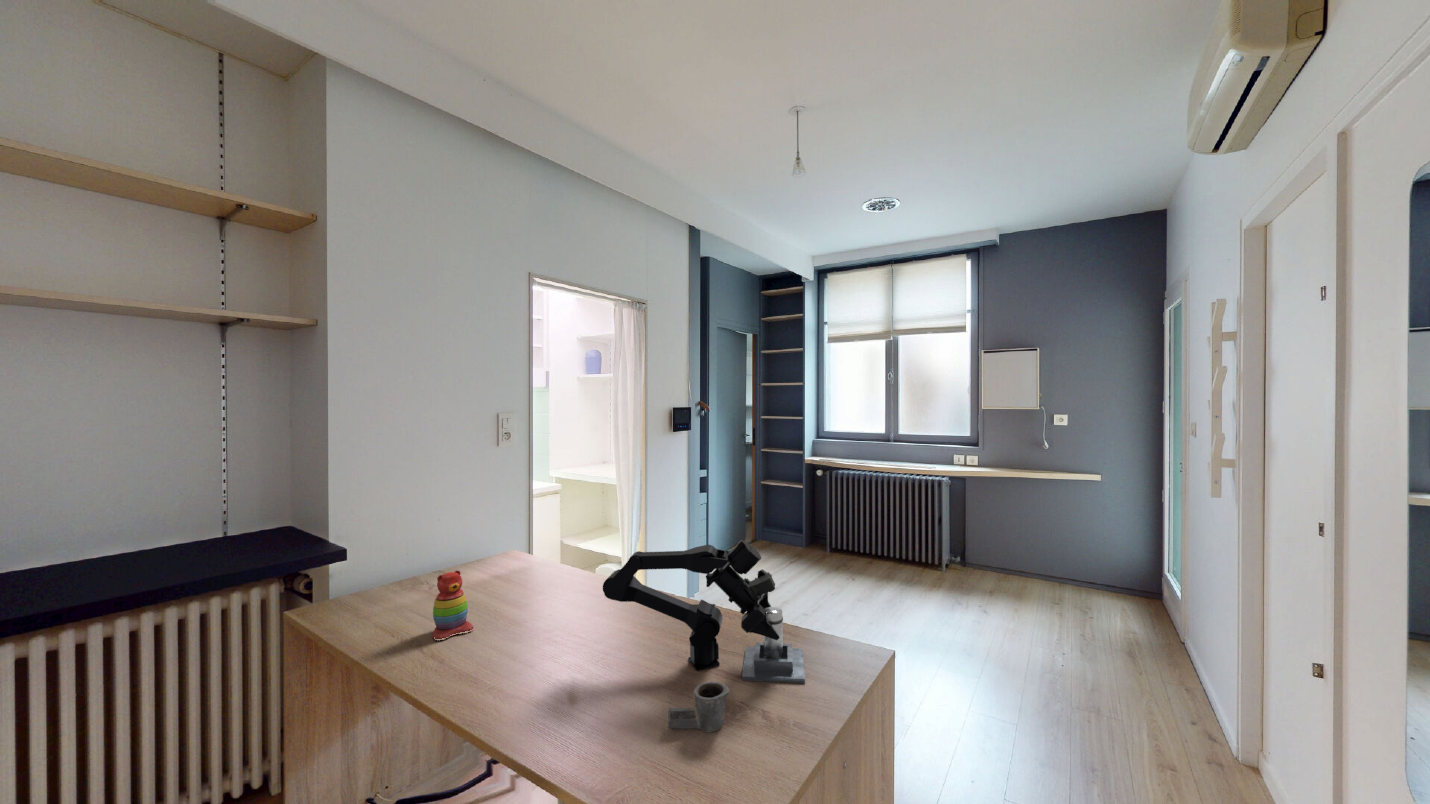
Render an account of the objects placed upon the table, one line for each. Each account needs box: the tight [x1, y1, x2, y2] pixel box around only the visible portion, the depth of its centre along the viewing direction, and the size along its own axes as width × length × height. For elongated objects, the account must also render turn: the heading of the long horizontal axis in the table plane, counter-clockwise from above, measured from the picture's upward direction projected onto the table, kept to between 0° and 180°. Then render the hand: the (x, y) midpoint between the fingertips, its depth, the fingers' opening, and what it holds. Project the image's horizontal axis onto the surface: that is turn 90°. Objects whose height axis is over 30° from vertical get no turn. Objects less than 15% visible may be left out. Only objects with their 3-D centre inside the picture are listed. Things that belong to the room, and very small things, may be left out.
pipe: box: [667, 681, 730, 733], centre depth 108 cm, size 6×13×8 cm, turn 95°
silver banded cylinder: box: [763, 606, 784, 659], centre depth 132 cm, size 5×5×13 cm
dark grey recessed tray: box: [741, 642, 806, 684], centre depth 132 cm, size 15×15×4 cm
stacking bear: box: [432, 570, 474, 639], centre depth 157 cm, size 11×10×18 cm
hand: (778, 630), depth 132 cm, fingers open, 9 cm apart
